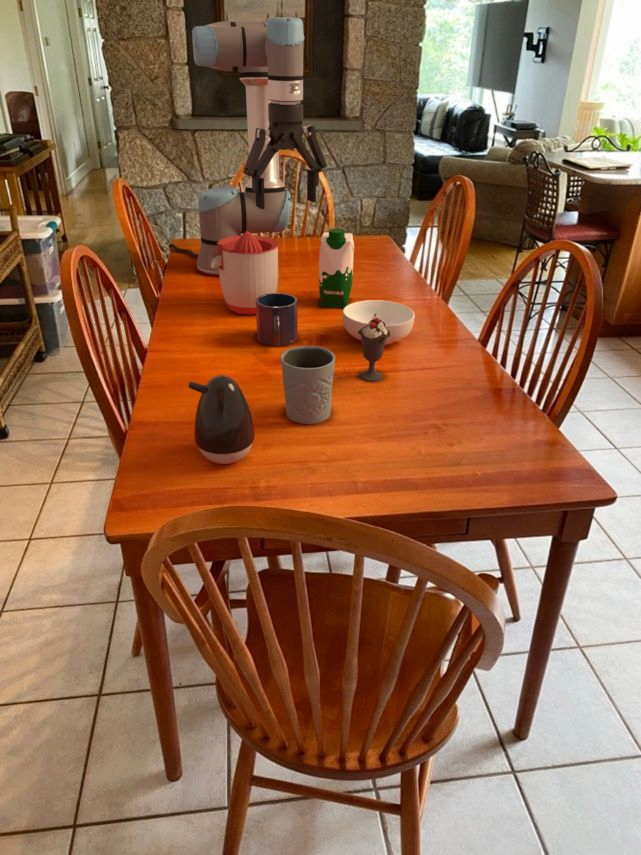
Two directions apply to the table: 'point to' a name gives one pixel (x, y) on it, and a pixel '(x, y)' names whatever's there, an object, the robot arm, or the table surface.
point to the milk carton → (336, 268)
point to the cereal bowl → (389, 312)
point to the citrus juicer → (246, 270)
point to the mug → (276, 319)
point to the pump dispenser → (223, 421)
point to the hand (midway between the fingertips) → (286, 204)
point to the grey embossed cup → (308, 383)
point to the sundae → (373, 346)
